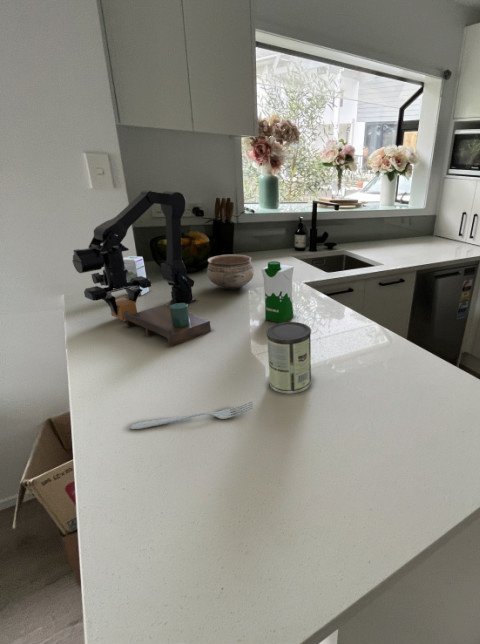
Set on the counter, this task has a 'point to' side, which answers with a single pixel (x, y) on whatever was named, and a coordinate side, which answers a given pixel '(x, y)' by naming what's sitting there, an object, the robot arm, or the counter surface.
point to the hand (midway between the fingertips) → (124, 312)
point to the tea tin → (180, 315)
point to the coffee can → (289, 357)
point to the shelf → (167, 324)
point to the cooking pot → (230, 271)
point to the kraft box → (124, 307)
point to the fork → (220, 414)
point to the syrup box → (135, 269)
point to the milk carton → (278, 292)
